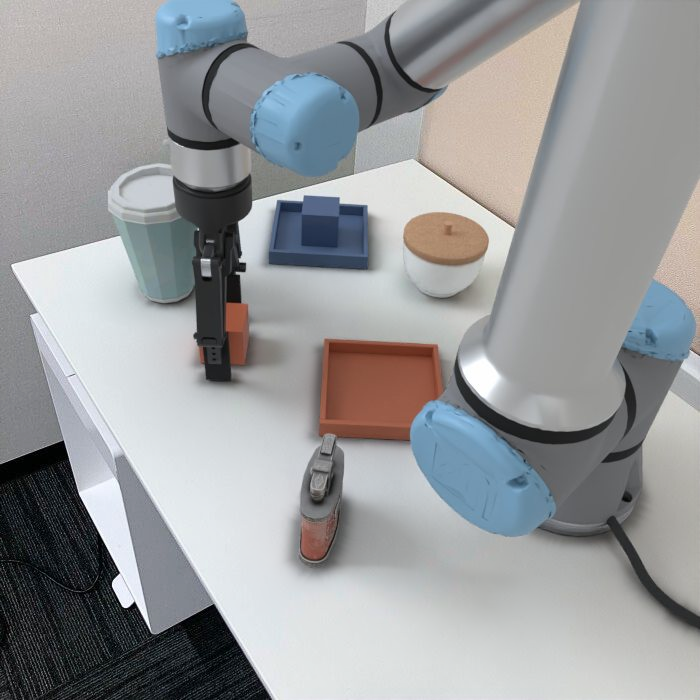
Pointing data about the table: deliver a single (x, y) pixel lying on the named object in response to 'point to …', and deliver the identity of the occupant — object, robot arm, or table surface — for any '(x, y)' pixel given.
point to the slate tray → (345, 255)
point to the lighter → (321, 502)
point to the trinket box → (443, 252)
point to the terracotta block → (236, 332)
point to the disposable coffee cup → (154, 232)
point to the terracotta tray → (376, 387)
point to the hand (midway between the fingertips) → (225, 347)
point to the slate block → (320, 221)
